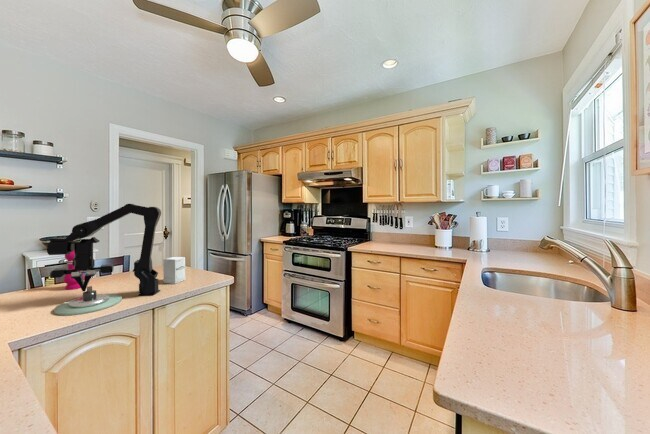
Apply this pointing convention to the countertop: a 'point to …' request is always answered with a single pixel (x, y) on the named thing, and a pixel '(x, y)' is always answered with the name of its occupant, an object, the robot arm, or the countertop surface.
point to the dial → (89, 299)
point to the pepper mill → (67, 279)
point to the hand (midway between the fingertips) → (84, 291)
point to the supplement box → (174, 270)
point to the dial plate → (66, 310)
